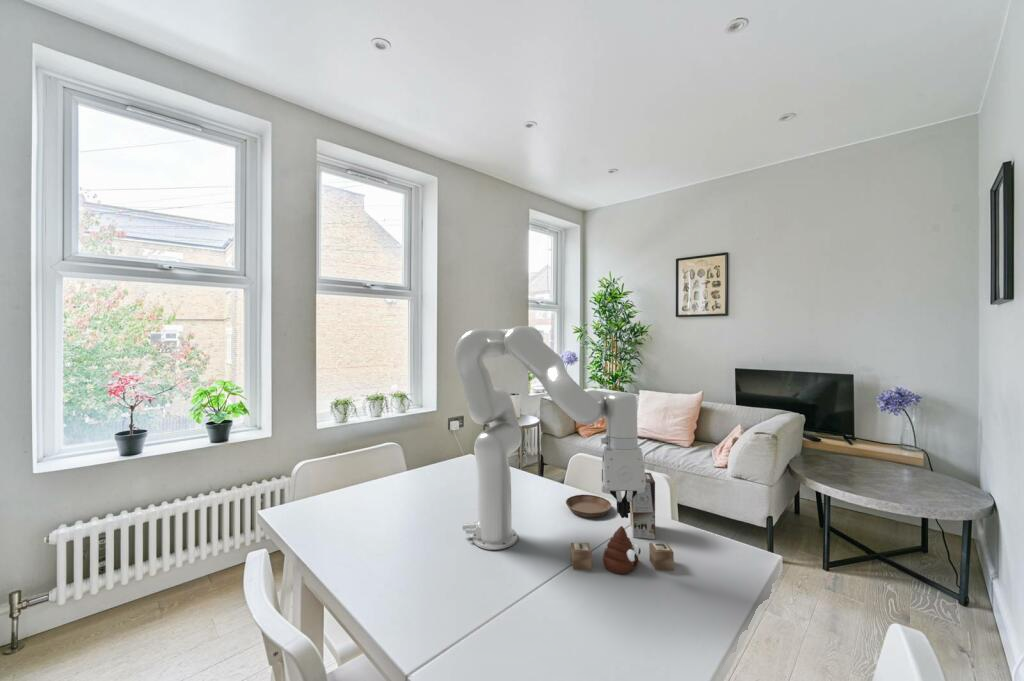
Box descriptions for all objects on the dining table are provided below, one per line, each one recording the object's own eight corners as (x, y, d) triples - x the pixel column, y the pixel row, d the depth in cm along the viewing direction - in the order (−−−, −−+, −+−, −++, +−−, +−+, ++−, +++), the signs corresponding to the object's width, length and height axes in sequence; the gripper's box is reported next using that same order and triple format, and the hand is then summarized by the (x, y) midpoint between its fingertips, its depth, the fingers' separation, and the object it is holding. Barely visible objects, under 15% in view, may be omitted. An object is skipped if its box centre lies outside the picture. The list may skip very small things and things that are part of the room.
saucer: (620, 513, 135) (620, 504, 135) (588, 524, 126) (588, 516, 126) (588, 498, 147) (588, 491, 147) (556, 508, 138) (556, 500, 138)
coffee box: (656, 539, 116) (655, 482, 116) (632, 537, 117) (631, 481, 117) (651, 525, 125) (651, 472, 125) (629, 523, 126) (629, 471, 126)
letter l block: (655, 570, 101) (654, 550, 101) (649, 560, 105) (649, 541, 105) (673, 570, 101) (673, 550, 101) (667, 560, 105) (667, 541, 105)
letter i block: (573, 570, 102) (572, 550, 102) (570, 560, 106) (570, 541, 106) (591, 570, 101) (591, 550, 101) (588, 560, 106) (588, 541, 106)
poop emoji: (612, 551, 110) (612, 516, 110) (644, 561, 105) (644, 524, 105) (597, 569, 102) (596, 531, 102) (631, 580, 97) (630, 540, 97)
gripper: (594, 446, 100) (596, 522, 100) (657, 445, 99) (658, 522, 99) (589, 439, 107) (591, 509, 107) (647, 438, 107) (649, 509, 107)
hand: (623, 515), depth 103 cm, fingers closed
